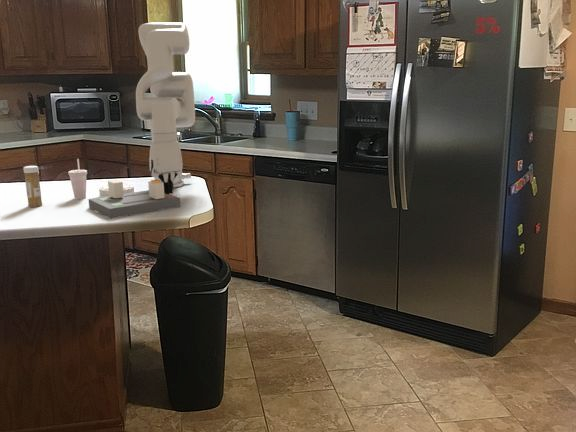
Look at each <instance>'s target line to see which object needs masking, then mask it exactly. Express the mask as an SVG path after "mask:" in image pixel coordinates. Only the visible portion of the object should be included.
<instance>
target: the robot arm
mask: <svg viewBox="0 0 576 432" xmlns="http://www.w3.org/2000/svg"><path fill="white" fill-rule="evenodd" d="M138 37H139V41H140V45H141V47H142V49H143V51H144V54H145V56H146V61H147V71H146V72H145V73H144V74H143V75H142V76H141V78H140V79H139V81H138V83H137V86H136V89H135V106H136V114H137V117H138V119H140V120H142V121H146V122H147V121H148V123H149V128H150V129H149V130H150V136H151V143H150V146H149V148H150V149H149V158H148V159H149V160H148V161H149V165H148V166H149V171H150V172H151V177H152V178H154V179H153V180H156V179H157V180H160V181H161V182H163V183H164V193H166V194H171V195H173V191H174V189H175V188H179V187H182V186H184V185H185V181H184V179H191V177H192V173H190V172H188V173H183V156H182V155H183V154H182V150H181V146H180V143H179V142H180V141H178V138H180V137H181V134H180V132H177V128H190V127H193V126H194V125H195V123H196V107H195V94H194V93H195V92H194V83H193V78H192V76H191V74H190V73H188V72H183V71H182V72H181V71H178V72H177V71H175V72H174V63H173V55H186V54H187V53H188V52H189V50H190V36H189V31H188V27H187V25H186V24H185V23H183V22H159V21H158V22H146V23H142V24H140V25H139V27H138ZM148 89H149V90H150V94H151V96H152V97H145V93H146V92H147V90H148ZM178 99H180V100H181V101H178Z"/></svg>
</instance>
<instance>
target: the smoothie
mask: <svg viewBox="0 0 576 432" xmlns="http://www.w3.org/2000/svg"><path fill="white" fill-rule="evenodd" d="M76 162H77V169H72V170H69V171H68V172H67V173H68V176H69V179H70V183H71V184H70V185H71V188H72V192H73V196H74V199H75V200H84V199H86V198H87V174H88V170H87V169H80V159H79V158H77V159H76Z"/></svg>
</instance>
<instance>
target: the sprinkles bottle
mask: <svg viewBox="0 0 576 432" xmlns="http://www.w3.org/2000/svg"><path fill="white" fill-rule="evenodd" d="M22 169H23V175H24V179H25V180H24V181H25V189H26V197H27V203H28V204H27V206H28V207H29V208H38V207H41V206H42V205H43V202H42V200H43V199H42V193H41V192H42V191H41V183H40V177H39V171H40V170H39V166H37V165H26V166H23V168H22Z"/></svg>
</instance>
